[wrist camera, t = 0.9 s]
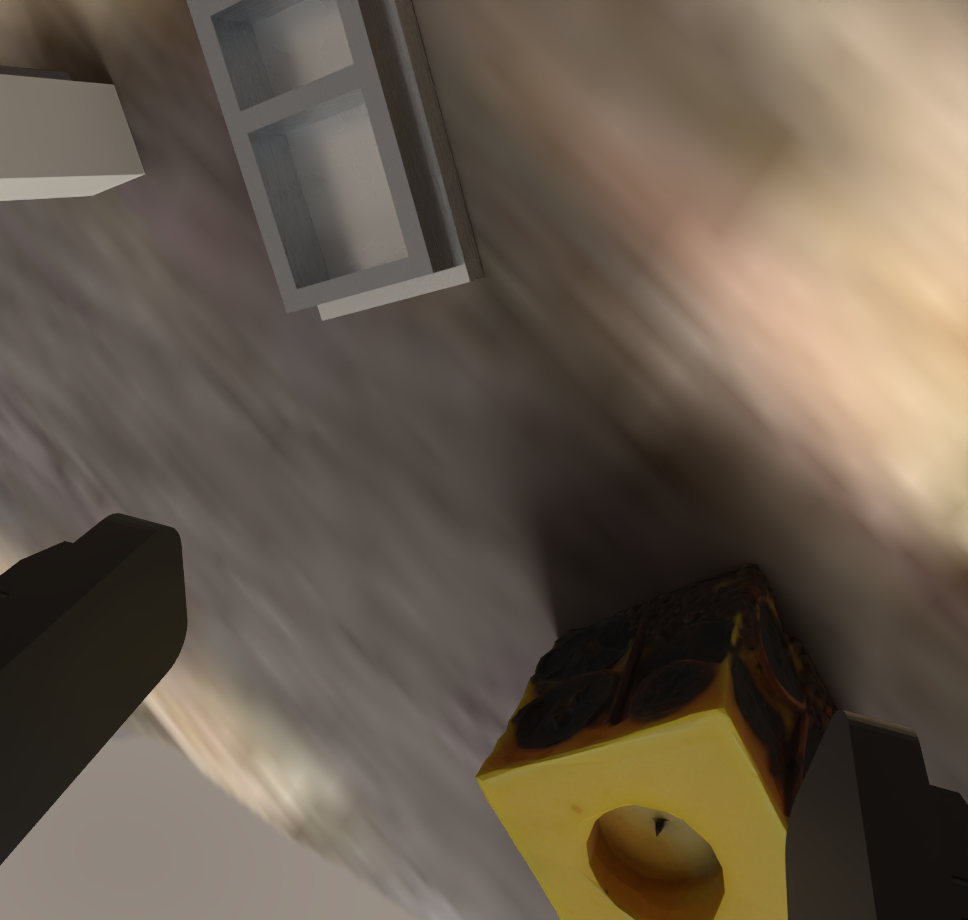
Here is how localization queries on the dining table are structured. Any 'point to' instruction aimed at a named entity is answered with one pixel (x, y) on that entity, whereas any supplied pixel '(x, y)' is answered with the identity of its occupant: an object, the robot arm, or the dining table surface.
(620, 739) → the candle
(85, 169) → the tall off-white block
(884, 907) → the robot arm
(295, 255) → the gray compartment block tray
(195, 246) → the dining table surface
